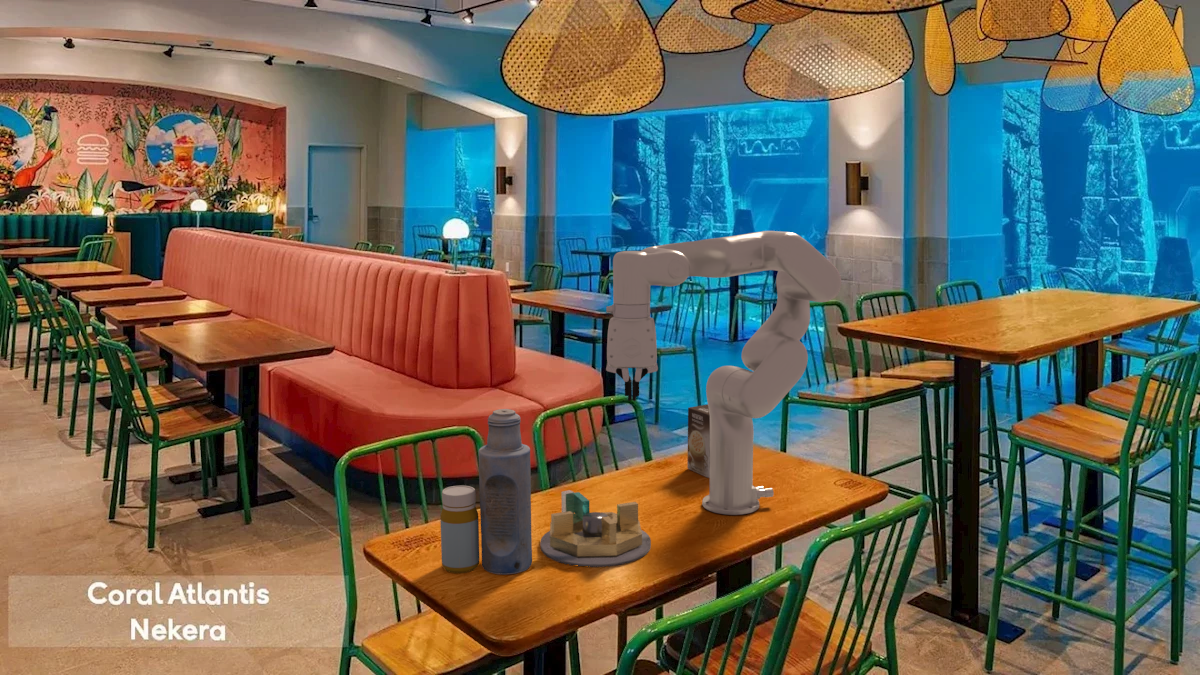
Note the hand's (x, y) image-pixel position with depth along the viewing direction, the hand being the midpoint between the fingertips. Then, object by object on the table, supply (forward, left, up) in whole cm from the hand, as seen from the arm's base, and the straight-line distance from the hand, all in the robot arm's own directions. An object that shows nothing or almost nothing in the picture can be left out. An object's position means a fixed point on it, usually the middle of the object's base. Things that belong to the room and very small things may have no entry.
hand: (632, 399), depth 196 cm
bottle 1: (+37, +15, -27) cm, 48 cm away
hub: (+10, +10, -27) cm, 31 cm away
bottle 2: (+28, +16, -27) cm, 43 cm away
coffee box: (-27, -32, -27) cm, 50 cm away
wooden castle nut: (+10, +9, -26) cm, 29 cm away
